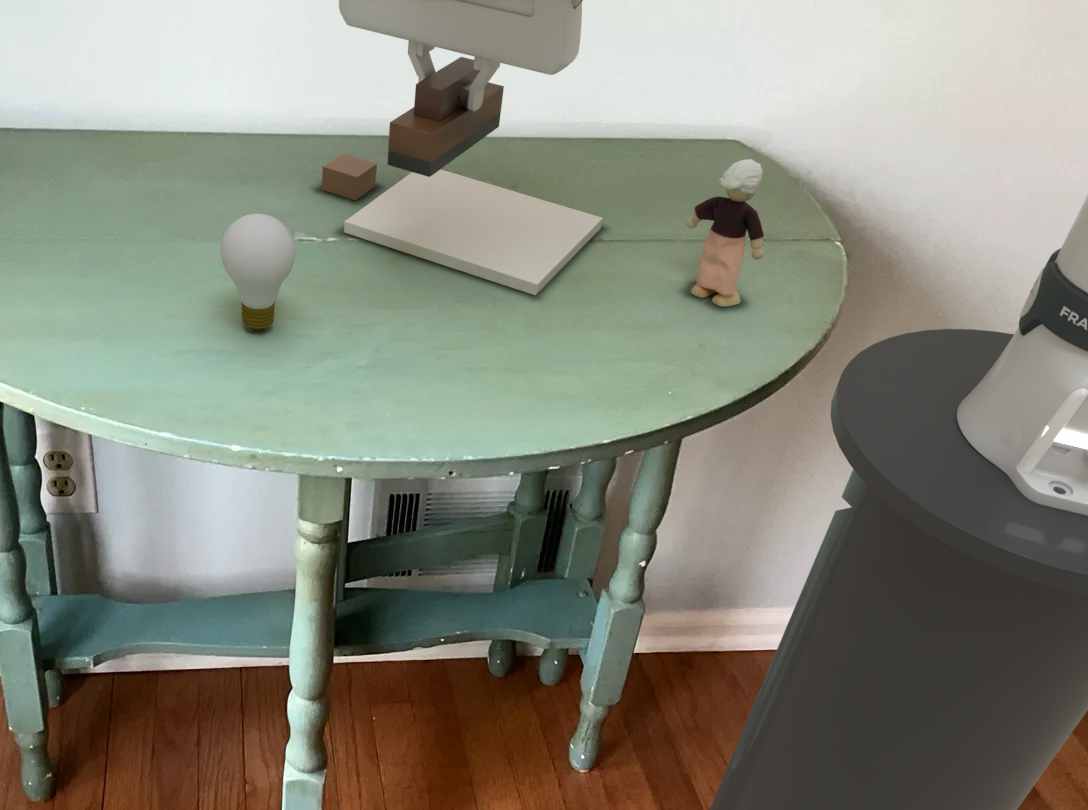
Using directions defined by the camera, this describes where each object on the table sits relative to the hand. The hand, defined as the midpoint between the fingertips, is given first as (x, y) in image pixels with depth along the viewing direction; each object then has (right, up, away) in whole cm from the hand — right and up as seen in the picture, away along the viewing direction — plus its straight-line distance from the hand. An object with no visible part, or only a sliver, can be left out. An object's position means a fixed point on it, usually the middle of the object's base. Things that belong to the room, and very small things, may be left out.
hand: (449, 102), depth 99 cm
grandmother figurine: (+24, -14, +10) cm, 30 cm away
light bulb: (-16, -19, 0) cm, 25 cm away
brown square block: (-9, -1, +21) cm, 23 cm away
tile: (+4, -7, +16) cm, 18 cm away
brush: (0, -3, +2) cm, 4 cm away
